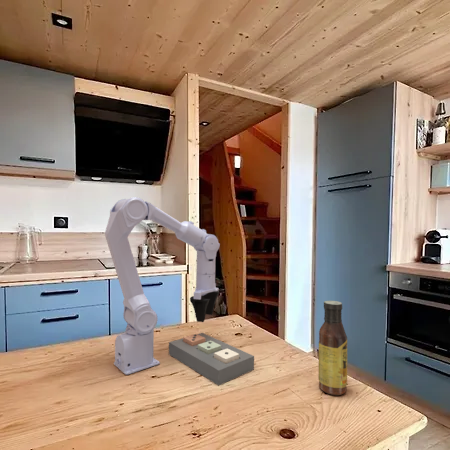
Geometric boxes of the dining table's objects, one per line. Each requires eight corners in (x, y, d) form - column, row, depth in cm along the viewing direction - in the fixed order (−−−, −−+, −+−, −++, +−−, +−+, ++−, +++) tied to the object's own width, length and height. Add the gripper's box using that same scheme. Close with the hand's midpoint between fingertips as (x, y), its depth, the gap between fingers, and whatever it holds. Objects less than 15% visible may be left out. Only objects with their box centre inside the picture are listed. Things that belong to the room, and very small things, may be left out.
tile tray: (218, 385, 71) (218, 370, 71) (168, 354, 88) (168, 342, 88) (253, 369, 79) (254, 356, 79) (202, 343, 95) (202, 332, 95)
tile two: (207, 356, 80) (208, 349, 80) (197, 351, 83) (197, 344, 83) (221, 352, 83) (221, 345, 83) (210, 346, 87) (210, 340, 86)
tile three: (192, 348, 85) (192, 341, 85) (183, 343, 89) (183, 336, 89) (205, 344, 88) (205, 337, 88) (195, 339, 92) (196, 333, 92)
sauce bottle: (349, 398, 66) (350, 307, 66) (319, 395, 68) (320, 305, 68) (344, 383, 73) (345, 299, 73) (316, 380, 74) (318, 298, 74)
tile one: (225, 366, 75) (225, 358, 75) (213, 360, 78) (213, 352, 78) (239, 361, 78) (239, 353, 78) (227, 355, 81) (227, 347, 81)
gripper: (210, 277, 85) (209, 326, 85) (224, 270, 99) (224, 312, 99) (187, 276, 87) (186, 323, 87) (204, 269, 101) (203, 310, 101)
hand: (204, 317), depth 93 cm, fingers open, 7 cm apart
